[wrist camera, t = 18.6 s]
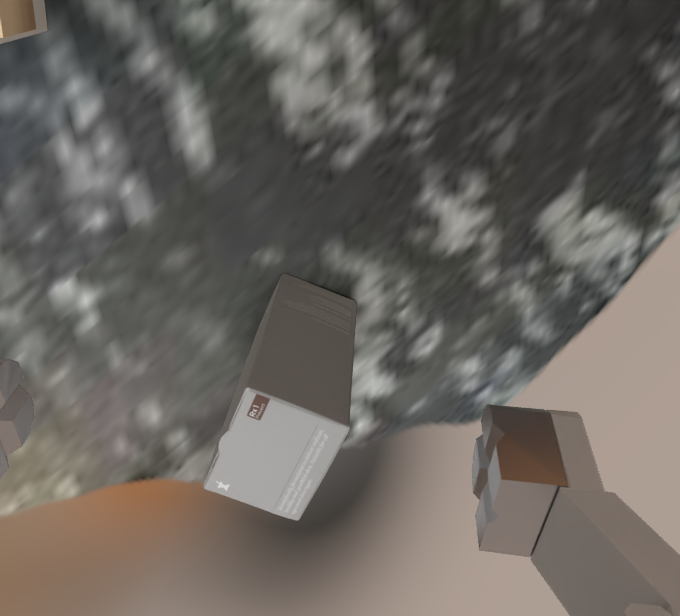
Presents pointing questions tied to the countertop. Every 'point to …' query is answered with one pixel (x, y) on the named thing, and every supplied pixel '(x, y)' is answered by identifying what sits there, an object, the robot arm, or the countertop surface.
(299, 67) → the countertop surface
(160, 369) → the countertop surface
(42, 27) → the rest block
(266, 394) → the skincare box
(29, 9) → the bar
